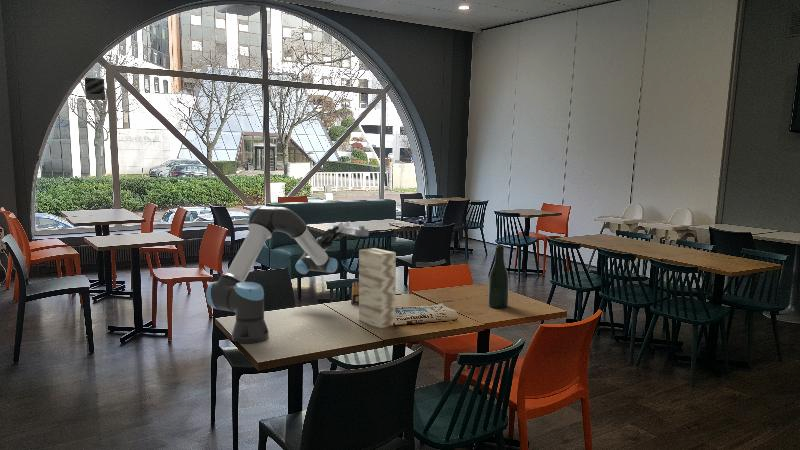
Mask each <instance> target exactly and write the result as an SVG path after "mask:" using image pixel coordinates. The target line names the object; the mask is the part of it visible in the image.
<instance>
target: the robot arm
mask: <svg viewBox="0 0 800 450" xmlns="http://www.w3.org/2000/svg"><path fill="white" fill-rule="evenodd" d="M247 219H248V220H247V223H248V224H247V225H248V227H247V228H248V233H247V235H246V236H245V238H244V240H243V242H242V244H241V246H240V248H239V250H238V251H237V252H236V254H235V256H234V258H233V259H232V262H231V264H230V265H229V268H228V269H227V272H226V273H223V274H221V275H220V277H219V278H218V280H217V281H216V280H215V281H213V282H210V284H208V286H207V289H206V292H205V297H206V302H207V304H208V306H210V307H211V308H213V309H215V310H218V311H227V312H232V313H235V323H234V326H233V330H232V332H231V341H233V342H234V343H237V344H238V343H239V344H255V343H256V344H257V343H261V342H263V341H266V340H268V339H269V338H270V337H269V336H270V334H269V332H270V331H269V329H268V326H267V323H266V321H265V292H264V287H263V286H262V285H261V284H260V283H257V282H253V281H245V280H246V279H247V277H248V275H249V273H250V272H251V270H252V268H253V265H254V264H255V262H256V260H257V259H258V256H259V255H260V253H261V251H262V249H263V247H264V245H265V243H266V241H267V240H269V239H271V238H272V236H273V235H274V233H275V232H276V233H277V232H279V233H284V234H287V235H288V236H289V237H290V239H294V241H296V243H297V245H299V246H300V247H301V249H302V250H303V254H302V255H301V256H300V257H299V259H298V260H297V262H296V263H295V265H294V268H295V270H296V272H298V274H301V275H307V273H309V271H313V272H322V273H332V274H333V273H335V272H336V271H337V270H338V266H339V264H338V262H339V261H338V260H337V259H336V258H334V257H330V256H329V255H328V253H327V252H326V250H328V249H329V248H331V246H332V245H333V243H334V241H336V240H337V239H338V240H341V239H342V237H344V236H345V235H347V234H346V233H340V232H339V231H340V230H341V229H342V228H343V227H344V226H348V227H351V225H350V222H349V221H346V222H345V223H343V221H341V222H339V223H338V224H336V225H337V226H336V227H335V228H333V227H332V228H328V229H327V230H325V231H324V232H323V233H321V234H320V235H318V236H317V238H316V239H315V237H314V236H313V234H311V231H309V229H308V228H307V227H308V226H307V224H306V221H304V220H303V218H301V217H300V216H299V215H298V214H297V213H296V212H295V211H293V210H292V209H290V208H288V207H284V206H268V205H258V206H255V207H253V208H252V209H251V210H250V212H249V214H248V217H247Z"/></svg>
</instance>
